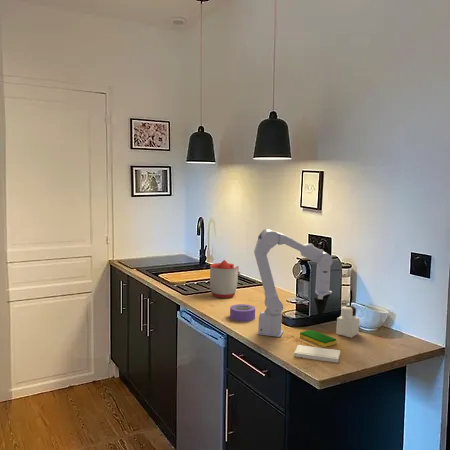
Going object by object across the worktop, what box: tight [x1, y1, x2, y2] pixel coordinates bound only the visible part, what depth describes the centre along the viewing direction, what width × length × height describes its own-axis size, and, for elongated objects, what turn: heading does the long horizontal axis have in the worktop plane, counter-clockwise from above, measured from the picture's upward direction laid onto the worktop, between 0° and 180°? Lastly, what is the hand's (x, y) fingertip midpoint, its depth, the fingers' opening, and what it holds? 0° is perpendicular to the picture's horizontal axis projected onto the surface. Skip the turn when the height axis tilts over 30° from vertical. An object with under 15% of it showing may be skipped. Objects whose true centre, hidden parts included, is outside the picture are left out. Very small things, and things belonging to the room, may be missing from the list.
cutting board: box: [293, 344, 341, 364], centre depth 179 cm, size 16×9×2 cm, turn 72°
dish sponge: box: [299, 329, 337, 348], centre depth 196 cm, size 7×14×2 cm, turn 36°
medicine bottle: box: [335, 305, 360, 338], centre depth 204 cm, size 7×7×12 cm
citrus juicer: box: [209, 259, 241, 299], centre depth 262 cm, size 16×17×20 cm
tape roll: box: [229, 303, 256, 322], centre depth 224 cm, size 12×12×5 cm
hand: (321, 311), depth 204 cm, fingers open, 6 cm apart
